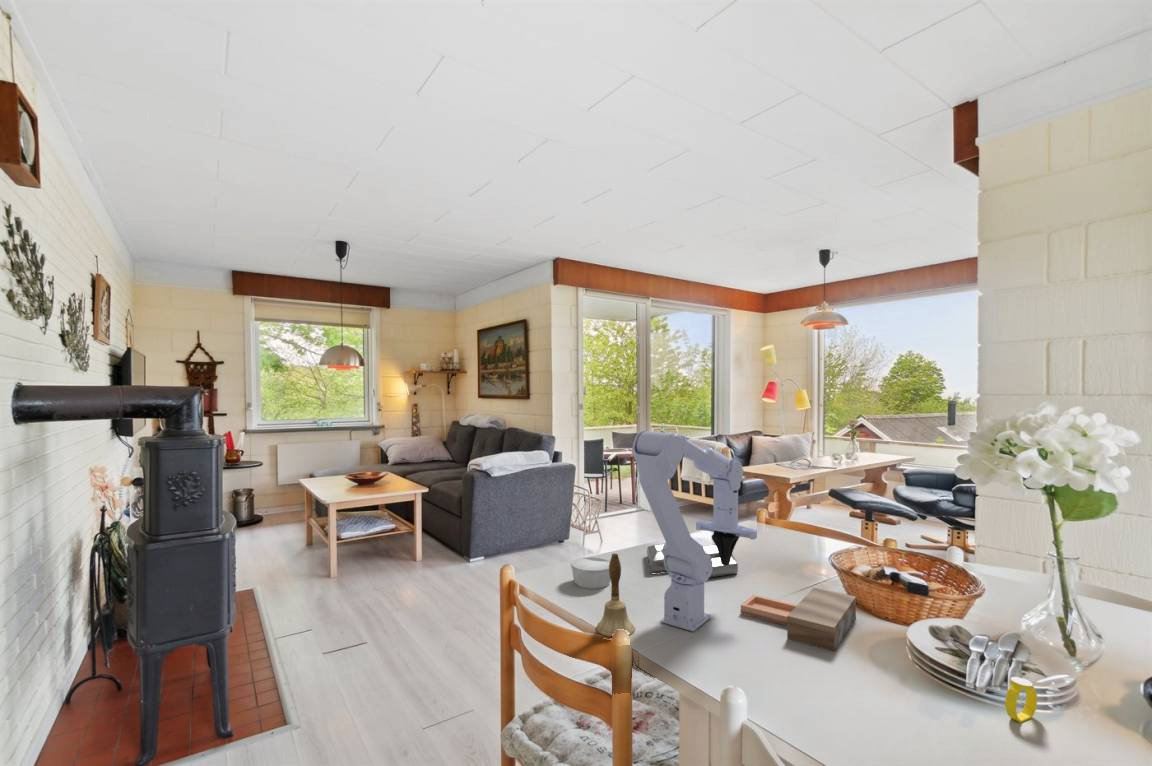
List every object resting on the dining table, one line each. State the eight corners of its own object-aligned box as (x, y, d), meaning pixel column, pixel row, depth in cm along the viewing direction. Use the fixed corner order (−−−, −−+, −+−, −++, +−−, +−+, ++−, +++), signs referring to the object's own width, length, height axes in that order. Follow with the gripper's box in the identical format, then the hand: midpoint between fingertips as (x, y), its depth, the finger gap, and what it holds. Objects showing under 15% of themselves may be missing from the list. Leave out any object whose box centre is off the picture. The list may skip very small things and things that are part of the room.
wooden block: (834, 651, 108) (834, 627, 108) (787, 638, 114) (787, 615, 114) (855, 617, 124) (855, 596, 124) (813, 607, 130) (813, 587, 130)
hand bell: (588, 631, 117) (589, 556, 117) (608, 617, 124) (608, 546, 124) (623, 641, 113) (623, 563, 113) (641, 626, 119) (641, 552, 120)
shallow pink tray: (795, 628, 119) (795, 618, 119) (740, 613, 126) (740, 604, 126) (805, 615, 125) (805, 606, 125) (753, 602, 132) (753, 594, 132)
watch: (1021, 711, 89) (1023, 673, 90) (1041, 720, 87) (1043, 682, 87) (999, 717, 87) (1001, 679, 87) (1019, 727, 84) (1021, 688, 85)
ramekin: (614, 576, 151) (614, 557, 151) (613, 591, 140) (613, 571, 139) (573, 575, 152) (573, 555, 152) (568, 590, 141) (569, 569, 141)
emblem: (670, 529, 180) (754, 545, 163) (669, 546, 180) (754, 563, 163) (623, 550, 157) (716, 570, 140) (623, 569, 157) (716, 591, 140)
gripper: (761, 508, 131) (761, 565, 131) (704, 500, 140) (704, 554, 140) (750, 514, 126) (750, 573, 126) (692, 505, 135) (692, 561, 135)
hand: (725, 564), depth 133 cm, fingers closed
